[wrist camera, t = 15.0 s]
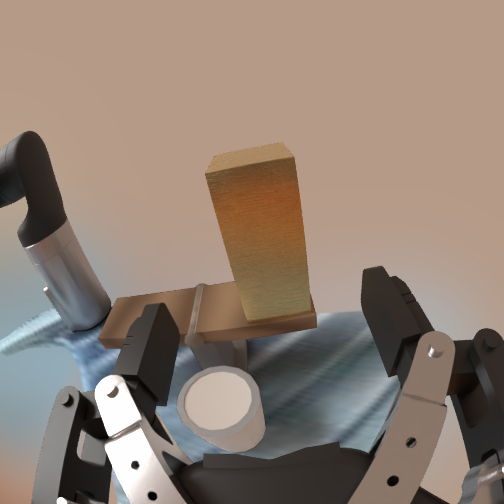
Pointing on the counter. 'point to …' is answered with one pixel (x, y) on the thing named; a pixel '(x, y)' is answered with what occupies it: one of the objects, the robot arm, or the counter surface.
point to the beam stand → (223, 354)
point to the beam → (200, 316)
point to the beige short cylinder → (223, 408)
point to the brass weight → (262, 229)
